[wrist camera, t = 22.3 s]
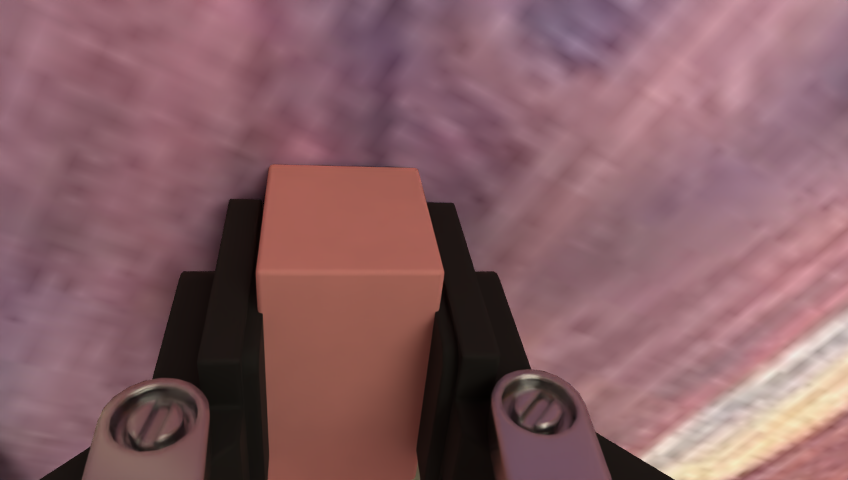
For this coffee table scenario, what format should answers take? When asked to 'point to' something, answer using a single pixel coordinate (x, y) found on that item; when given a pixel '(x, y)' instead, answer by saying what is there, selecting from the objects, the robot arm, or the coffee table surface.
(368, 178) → the eraser
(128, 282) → the coffee table surface
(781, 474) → the coffee table surface
